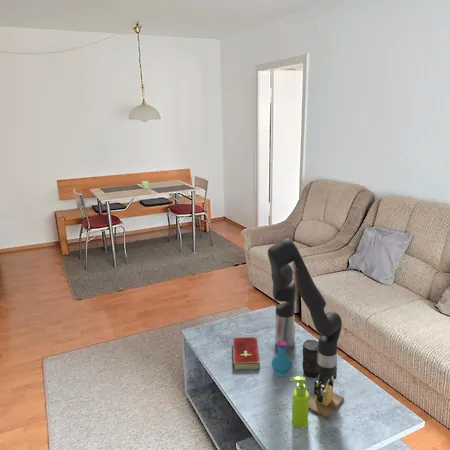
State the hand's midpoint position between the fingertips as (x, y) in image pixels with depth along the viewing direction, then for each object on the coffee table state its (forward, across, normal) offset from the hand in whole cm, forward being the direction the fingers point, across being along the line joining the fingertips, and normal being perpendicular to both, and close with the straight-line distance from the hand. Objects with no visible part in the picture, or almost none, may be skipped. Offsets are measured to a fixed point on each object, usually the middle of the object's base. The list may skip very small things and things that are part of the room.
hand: (324, 395), depth 162 cm
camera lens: (+4, -13, -14) cm, 19 cm away
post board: (+4, 0, 0) cm, 4 cm away
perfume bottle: (+4, -6, -24) cm, 26 cm away
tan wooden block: (+3, -1, 0) cm, 3 cm away
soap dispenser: (+4, +15, -3) cm, 16 cm away
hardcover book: (+5, -5, -44) cm, 45 cm away
